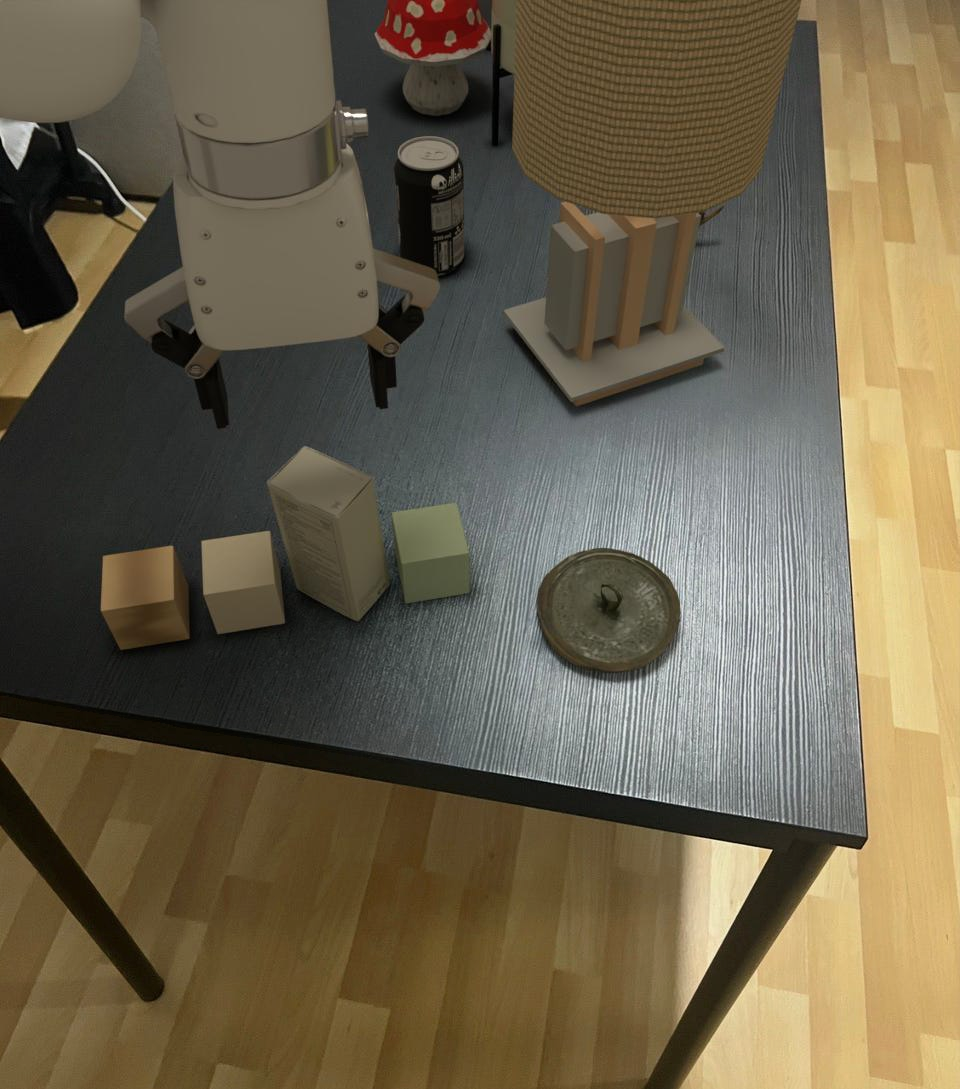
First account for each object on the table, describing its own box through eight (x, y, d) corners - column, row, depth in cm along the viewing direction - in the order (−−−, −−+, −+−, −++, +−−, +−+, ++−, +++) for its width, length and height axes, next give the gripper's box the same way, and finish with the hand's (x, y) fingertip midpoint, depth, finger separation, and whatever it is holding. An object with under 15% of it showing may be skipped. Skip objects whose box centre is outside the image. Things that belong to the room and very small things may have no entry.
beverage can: (403, 241, 105) (396, 132, 96) (465, 242, 105) (464, 134, 95) (398, 279, 101) (390, 170, 91) (462, 280, 101) (461, 171, 91)
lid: (658, 578, 79) (660, 527, 76) (697, 664, 71) (701, 610, 68) (527, 598, 78) (524, 547, 75) (552, 687, 70) (549, 634, 67)
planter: (584, 178, 113) (605, -44, 95) (466, 139, 118) (464, -78, 100) (643, 120, 121) (672, -94, 103) (529, 86, 126) (539, -123, 108)
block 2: (217, 634, 74) (203, 594, 70) (215, 581, 77) (201, 540, 73) (285, 623, 74) (275, 583, 70) (280, 571, 77) (270, 530, 73)
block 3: (405, 604, 75) (401, 563, 71) (395, 553, 78) (391, 511, 75) (469, 593, 76) (469, 552, 72) (457, 543, 79) (456, 502, 75)
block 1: (120, 650, 73) (100, 611, 69) (121, 596, 76) (102, 555, 72) (189, 639, 73) (174, 599, 69) (188, 585, 76) (173, 544, 72)
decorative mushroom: (358, 114, 122) (345, -17, 110) (417, 67, 129) (411, -61, 118) (456, 143, 117) (454, 10, 106) (511, 92, 125) (515, -37, 113)
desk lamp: (567, 446, 86) (610, 23, 59) (471, 316, 97) (470, -91, 70) (755, 382, 91) (875, -34, 64) (644, 265, 102) (706, -131, 75)
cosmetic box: (391, 585, 76) (379, 477, 67) (356, 625, 74) (339, 520, 65) (326, 551, 79) (305, 441, 69) (290, 589, 76) (264, 481, 67)
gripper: (424, 90, 52) (429, 349, 65) (79, 116, 49) (158, 379, 63) (451, 166, 47) (450, 428, 60) (71, 199, 45) (158, 464, 58)
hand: (301, 403), depth 61 cm, fingers open, 9 cm apart
